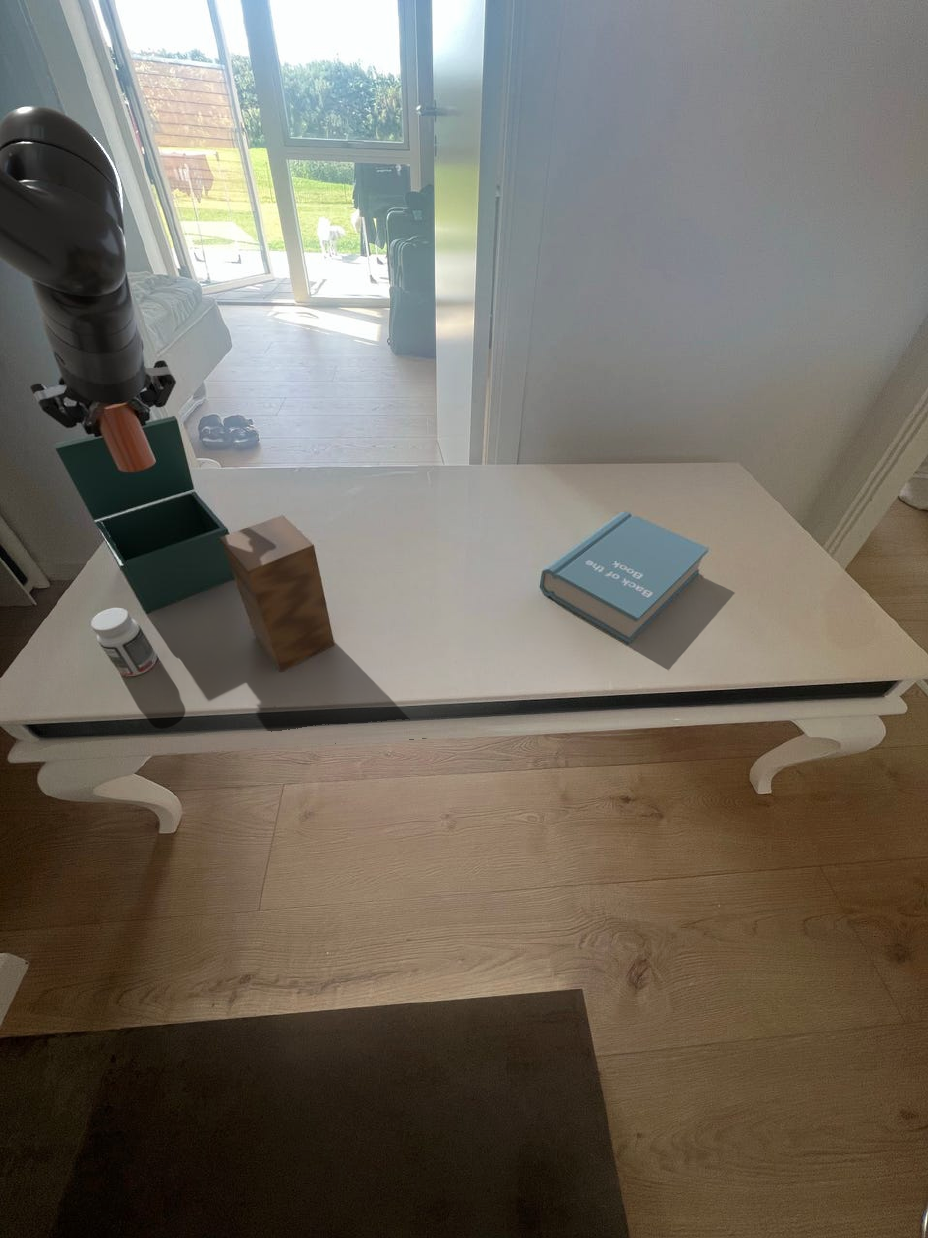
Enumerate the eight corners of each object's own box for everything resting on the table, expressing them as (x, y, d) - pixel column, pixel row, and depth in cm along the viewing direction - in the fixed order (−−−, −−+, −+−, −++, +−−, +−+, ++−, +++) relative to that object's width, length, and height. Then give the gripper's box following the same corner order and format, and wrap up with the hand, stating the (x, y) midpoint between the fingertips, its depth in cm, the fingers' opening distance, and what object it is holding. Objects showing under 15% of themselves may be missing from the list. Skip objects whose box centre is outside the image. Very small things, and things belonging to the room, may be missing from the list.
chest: (243, 575, 83) (227, 528, 76) (145, 614, 76) (120, 566, 70) (211, 535, 90) (194, 490, 84) (119, 567, 83) (93, 520, 77)
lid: (177, 419, 71) (160, 393, 72) (55, 448, 64) (38, 419, 65) (194, 489, 83) (179, 466, 85) (93, 520, 76) (79, 494, 78)
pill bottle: (156, 646, 71) (131, 600, 65) (158, 670, 68) (132, 624, 62) (117, 656, 70) (87, 611, 64) (118, 682, 67) (87, 636, 61)
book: (628, 643, 74) (638, 618, 71) (538, 591, 82) (543, 566, 78) (698, 572, 87) (709, 548, 83) (614, 532, 94) (620, 508, 91)
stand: (280, 672, 69) (247, 571, 57) (255, 637, 73) (219, 537, 61) (334, 644, 72) (314, 544, 61) (307, 613, 77) (283, 514, 65)
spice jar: (122, 476, 65) (92, 412, 60) (112, 462, 68) (82, 399, 62) (160, 465, 67) (135, 403, 62) (149, 452, 70) (124, 391, 64)
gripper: (155, 297, 53) (161, 383, 68) (-12, 319, 47) (35, 409, 62) (191, 367, 54) (189, 437, 69) (32, 398, 47) (68, 468, 62)
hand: (116, 424), depth 65 cm, fingers closed on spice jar, 4 cm apart
